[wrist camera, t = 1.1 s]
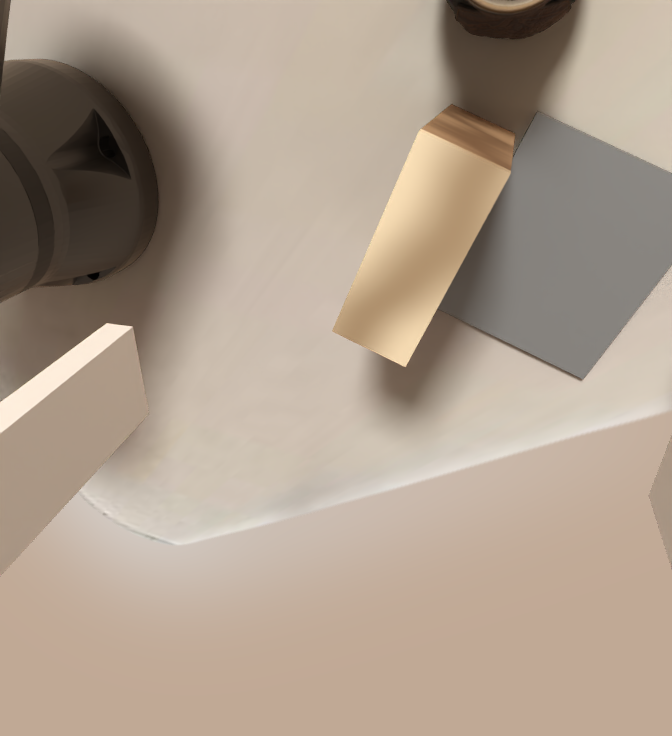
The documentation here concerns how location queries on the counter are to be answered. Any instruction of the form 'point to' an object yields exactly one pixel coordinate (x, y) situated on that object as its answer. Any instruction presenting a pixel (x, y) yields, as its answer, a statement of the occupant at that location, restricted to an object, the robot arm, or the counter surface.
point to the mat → (566, 247)
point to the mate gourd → (508, 16)
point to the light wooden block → (426, 231)
